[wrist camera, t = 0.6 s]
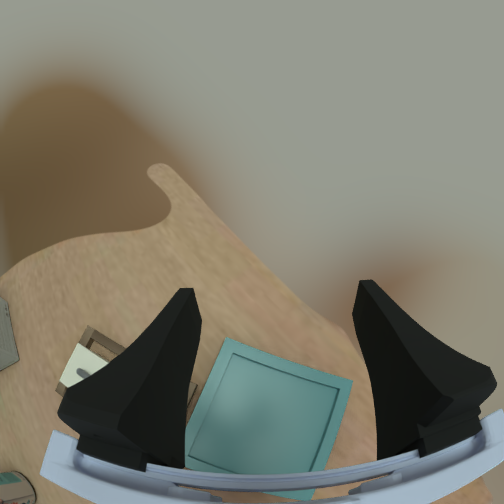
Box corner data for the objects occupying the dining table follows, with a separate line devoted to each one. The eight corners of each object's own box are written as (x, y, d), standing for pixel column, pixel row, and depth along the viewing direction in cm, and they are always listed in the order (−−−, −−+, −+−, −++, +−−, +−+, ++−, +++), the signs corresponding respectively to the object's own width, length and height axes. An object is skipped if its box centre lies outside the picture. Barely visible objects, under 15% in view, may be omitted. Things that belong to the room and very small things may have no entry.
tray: (305, 497, 19) (309, 501, 18) (173, 458, 20) (170, 460, 19) (347, 382, 26) (353, 380, 25) (225, 340, 28) (226, 337, 27)
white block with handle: (152, 430, 22) (135, 435, 17) (81, 387, 23) (53, 379, 18) (169, 394, 24) (156, 390, 19) (97, 354, 25) (72, 339, 20)
